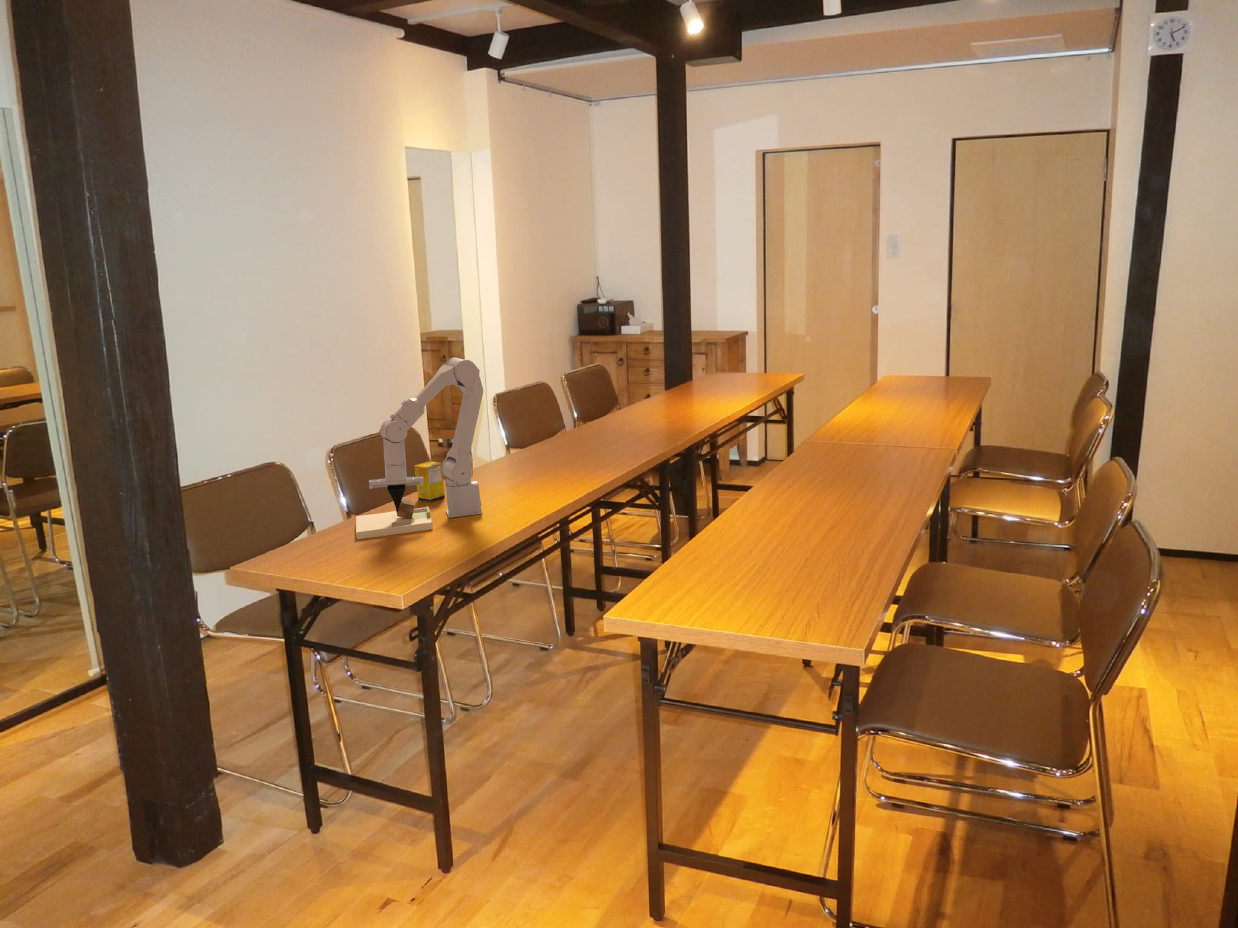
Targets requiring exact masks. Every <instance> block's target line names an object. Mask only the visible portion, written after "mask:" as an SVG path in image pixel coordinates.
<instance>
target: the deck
mask: <svg viewBox="0 0 1238 928" xmlns="http://www.w3.org/2000/svg"><path fill="white" fill-rule="evenodd" d="M355 518H356V519H355V535H356V540H362V539H371V538H378V537H386V536H393V535H400V534H407V533H415V532H422V531H423V532H424V531H429V530H430V529H431V530H434V529H433V520H432V516H431V511H430V507H429V506H425V507H420V508H419V507H418V508H414V511H413V515H412V519H409V518H403V517H398V516H397V513H396V510H394V511H387V512H379V513H373V514H372V513H371V514H364V515H357V516H355Z"/></svg>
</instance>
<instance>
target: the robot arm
mask: <svg viewBox="0 0 1238 928" xmlns="http://www.w3.org/2000/svg"><path fill="white" fill-rule="evenodd" d="M480 372H481V370H480V369H479V368H478V367H477V365H476V364H475V363H474V362H473V361H471V360H469V359H462V358H459V357H451V358H449V359H447V360H446V362H445V364H443V365H441V366H440V367H439V369H438V370H437V372H436V373H435V374H434V375H433V377H432V378H431V379H430V380H429V381H428V382H427V383H426V385H425V386H424V387H423V388H422V390H420V392H419V393H418V394H417V396H416V397H415V398H413V397H411V398H408V399H406V400H402V401H401V406H400V407H399V408H398V409H397V411H396V412H394V414H393V413H392V414H390V415H389V417H390V419H386V420H385V421H383V422H382V424H381V425H380V429H379V430H378V431H379V435H380V436H381V438H382V440H383V442H382V443H383V459H384V473H385V477H384V478H379V479H377V478H376V479H369V480H368V485H369V489H375V488H377V489H378V488H387V491H388V493H389V495H390V497H391V499H392V501H393V504H394V507H395V511H396V513H398V510H399V506H400V502H401V500H402V499H403V496H404V494H405V491H406V486H407V487H408V486H417V485H424V481H423V477H415V476H408V473H407V459H406V458H407V457H406V456H407V455H406V445H405V439H406V438H407V436H408V433H409V432H408V431H409V430H410V429H411V428H412V427H413V426H414V425H415V423H417V422H418V420H419V419H420V418H421V417H422V416H423V415H424V414H425V409H426V408H425V407H426V405H428V403H429V402H431V401H432V400H433V399H434V397H436V396H437V395H438V394H439V393H440V392H441V391H442V390H443V389H444V388H445V387H447V386H448V387H449V386H453V385H457V386H458V387H459V389H460V391H461V392H462V400H461V404H460V407H459V408H460V409H459V412H458V418H457V421H456V426H455V433H454V435H453V440H452V446H451V447H450V449H449V450H448V451H447V453H446V457H445V459H444V460H443V462H442V463H441V472H442V477H444V478H445V482H444V483H445V486H444V487H445V491H446V492H445V493H446V494H445V495H446V500H447V501H446V503H447V509H445V512H446V514H447V517H448V519H449V518H457V517H458V518H459V517H467V516H473V515H481V514H483V512H482V511H483V510H482V500H481V491H480V486H479V481H478V480H473V481H472V478H473V474H474V471H473V456H472V454H471V451H472V450H471V449H472V446H473V441H474V436H475V432H476V427H477V422H478V418H479V414H480V409H481V405H482V399H483V395H484V387H483V384H482V381H481V376H480Z"/></svg>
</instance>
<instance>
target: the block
mask: <svg viewBox="0 0 1238 928" xmlns="http://www.w3.org/2000/svg"><path fill="white" fill-rule="evenodd" d="M415 506H416V503H415V501H414V500H410V499H405V498H402V500H401V502H400V506H399V510H398V513H397V516H398V517H403V518H409V519H412V515H413V511H414V509H415V508H416V507H415Z"/></svg>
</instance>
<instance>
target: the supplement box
mask: <svg viewBox="0 0 1238 928" xmlns="http://www.w3.org/2000/svg"><path fill="white" fill-rule="evenodd" d="M441 465H442V463H441V462H436V461H426V462H421V463H419V464H415V465H414V466H413V468H414V477H423V481H424V485H416V492H417V500H418V501H421V500H422V502H428V503H431V502H435V501H437V500H440V499H443V498H445V497H446V496H445V495H446V494H445V486H444V479H443V477H444V476H443V474H442V472H441Z"/></svg>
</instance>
